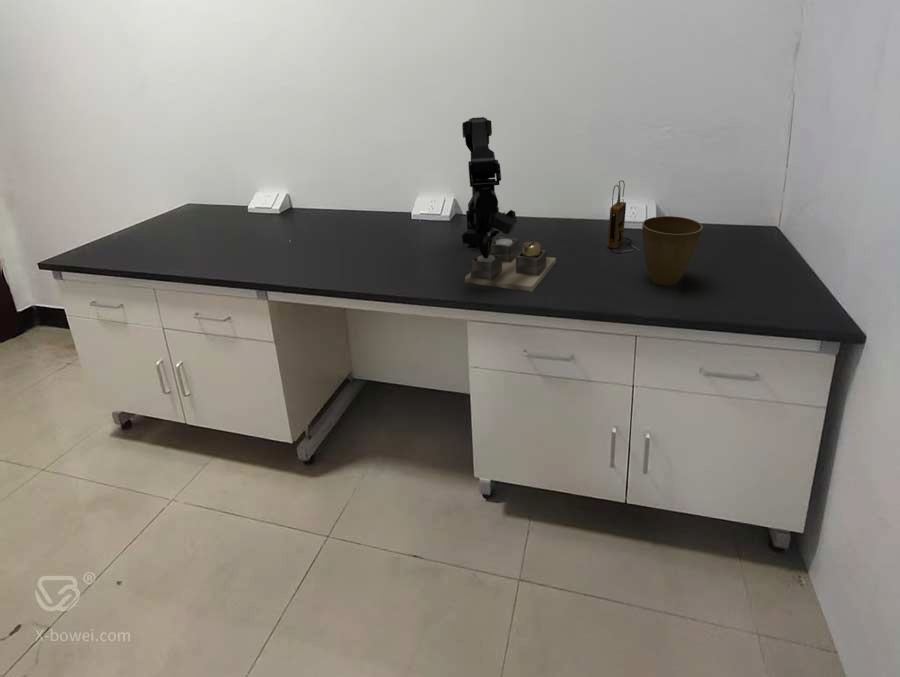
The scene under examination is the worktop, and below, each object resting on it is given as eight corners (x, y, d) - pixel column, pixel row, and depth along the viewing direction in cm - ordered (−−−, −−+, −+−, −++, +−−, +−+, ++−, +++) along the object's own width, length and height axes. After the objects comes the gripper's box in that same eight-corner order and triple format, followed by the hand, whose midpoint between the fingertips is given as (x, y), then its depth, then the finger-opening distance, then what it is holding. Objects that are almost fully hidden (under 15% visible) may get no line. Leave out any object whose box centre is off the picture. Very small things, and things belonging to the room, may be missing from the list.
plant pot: (662, 296, 155) (669, 237, 147) (625, 276, 167) (630, 221, 159) (706, 284, 160) (715, 226, 152) (667, 266, 172) (674, 212, 164)
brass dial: (520, 263, 169) (519, 245, 167) (525, 257, 173) (525, 239, 171) (536, 265, 167) (537, 247, 165) (542, 259, 171) (542, 241, 169)
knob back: (493, 258, 181) (493, 243, 178) (499, 253, 184) (499, 237, 182) (509, 260, 178) (508, 245, 176) (514, 255, 182) (514, 239, 180)
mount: (465, 282, 170) (464, 261, 167) (494, 255, 187) (493, 235, 184) (531, 291, 162) (532, 269, 159) (555, 262, 179) (556, 242, 176)
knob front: (475, 276, 170) (474, 259, 167) (482, 269, 174) (481, 253, 171) (491, 278, 168) (490, 261, 165) (497, 271, 172) (497, 255, 169)
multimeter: (635, 256, 180) (641, 191, 170) (603, 252, 185) (607, 188, 175) (649, 241, 190) (655, 178, 181) (618, 237, 195) (623, 175, 186)
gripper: (499, 216, 150) (500, 273, 158) (524, 196, 165) (524, 249, 172) (459, 212, 155) (462, 268, 162) (487, 193, 169) (488, 245, 177)
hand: (486, 257), depth 168 cm, fingers closed, pressing on knob front
